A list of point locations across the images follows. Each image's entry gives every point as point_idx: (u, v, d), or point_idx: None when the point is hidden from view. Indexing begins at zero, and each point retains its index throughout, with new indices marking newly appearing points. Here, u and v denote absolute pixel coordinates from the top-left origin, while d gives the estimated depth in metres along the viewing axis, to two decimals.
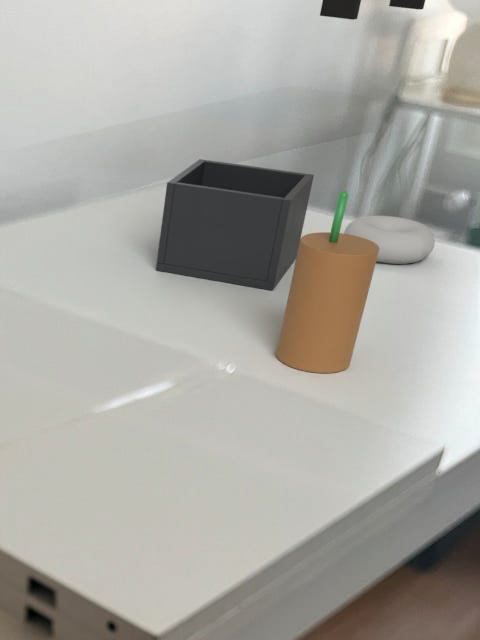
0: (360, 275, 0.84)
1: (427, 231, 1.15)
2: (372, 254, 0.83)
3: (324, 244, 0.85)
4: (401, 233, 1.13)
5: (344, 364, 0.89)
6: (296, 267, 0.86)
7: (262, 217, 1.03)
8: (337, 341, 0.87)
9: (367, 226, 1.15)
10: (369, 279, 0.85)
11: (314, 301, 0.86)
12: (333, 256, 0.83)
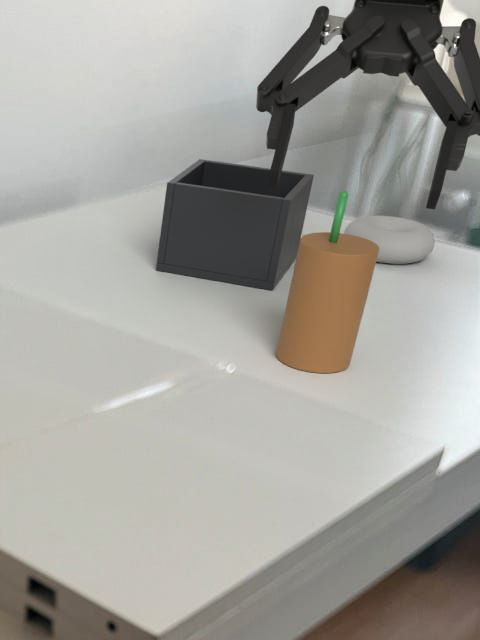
0: (360, 275, 0.84)
1: (427, 231, 1.15)
2: (372, 254, 0.83)
3: (324, 244, 0.85)
4: (401, 233, 1.13)
5: (344, 364, 0.89)
6: (296, 267, 0.86)
7: (262, 217, 1.03)
8: (337, 341, 0.87)
9: (367, 226, 1.15)
10: (369, 279, 0.85)
11: (314, 301, 0.86)
12: (333, 256, 0.83)
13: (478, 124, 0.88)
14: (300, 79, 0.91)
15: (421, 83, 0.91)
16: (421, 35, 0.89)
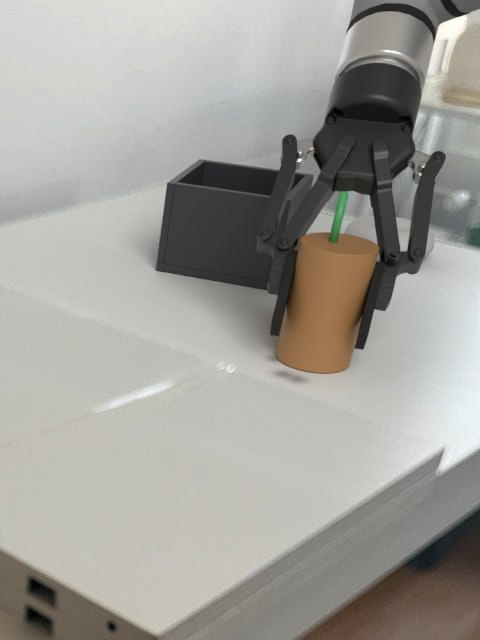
0: (360, 275, 0.84)
1: None
2: (372, 254, 0.83)
3: (324, 244, 0.85)
4: (401, 233, 1.13)
5: (344, 364, 0.89)
6: (296, 267, 0.86)
7: (262, 217, 1.03)
8: (337, 341, 0.87)
9: (367, 226, 1.15)
10: (369, 279, 0.85)
11: (314, 301, 0.86)
12: (333, 256, 0.83)
13: (406, 264, 0.85)
14: (294, 219, 0.87)
15: (374, 207, 0.88)
16: (387, 160, 0.86)
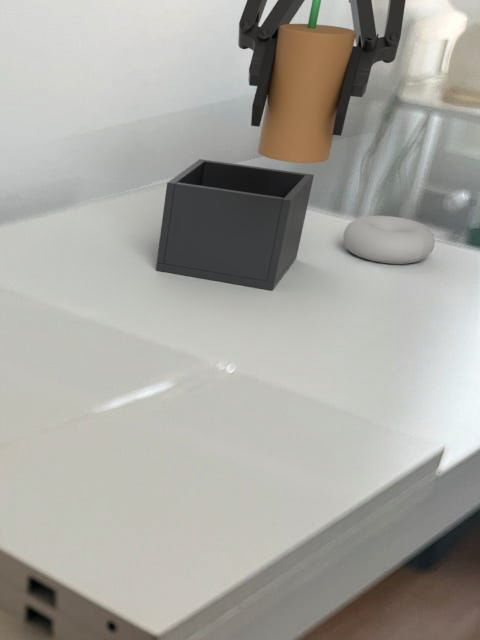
0: (337, 56, 0.87)
1: (427, 231, 1.15)
2: (348, 35, 0.86)
3: (303, 28, 0.88)
4: (401, 233, 1.13)
5: (323, 154, 0.92)
6: (276, 54, 0.89)
7: (262, 217, 1.03)
8: (316, 127, 0.90)
9: (367, 226, 1.15)
10: (346, 63, 0.88)
11: (293, 85, 0.88)
12: (311, 36, 0.86)
13: (382, 50, 0.88)
14: (274, 10, 0.90)
15: (352, 0, 0.91)
16: None
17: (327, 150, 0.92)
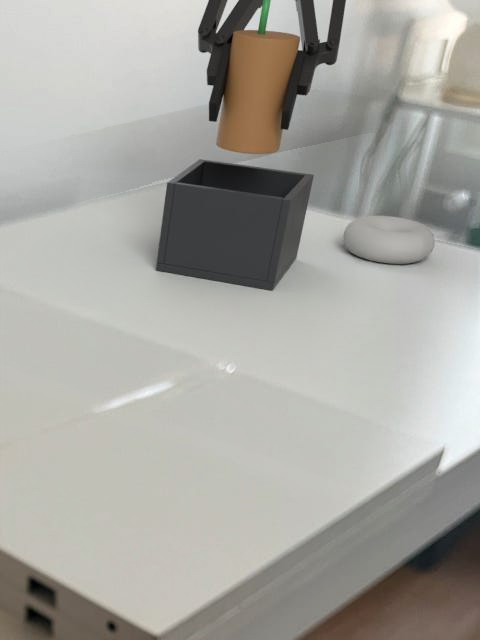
0: (283, 59, 0.98)
1: (427, 231, 1.15)
2: (292, 40, 0.98)
3: (253, 34, 0.99)
4: (401, 233, 1.13)
5: (273, 146, 1.03)
6: (230, 57, 1.00)
7: (262, 217, 1.03)
8: (266, 122, 1.01)
9: (367, 226, 1.15)
10: (292, 65, 0.99)
11: (244, 85, 1.00)
12: (259, 41, 0.97)
13: (324, 53, 1.00)
14: (229, 18, 1.02)
15: (298, 9, 1.02)
16: None
17: (277, 142, 1.03)
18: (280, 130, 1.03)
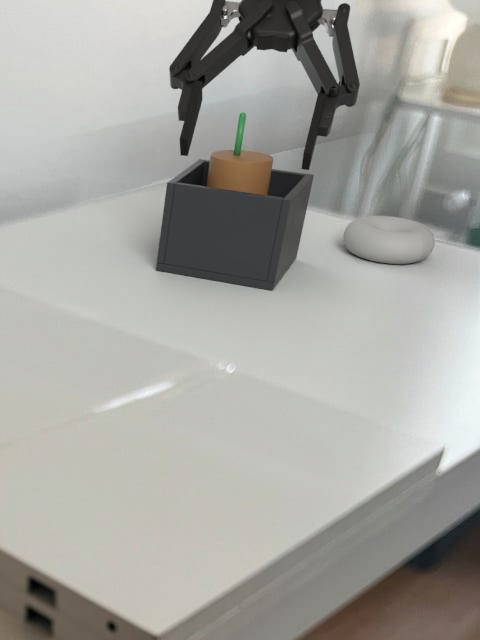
0: (257, 179, 1.05)
1: (427, 231, 1.15)
2: (265, 162, 1.04)
3: (229, 156, 1.06)
4: (401, 233, 1.13)
5: None
6: (208, 176, 1.07)
7: (262, 217, 1.03)
8: None
9: (367, 226, 1.15)
10: (266, 184, 1.06)
11: None
12: (234, 163, 1.04)
13: (344, 96, 1.02)
14: (205, 59, 1.05)
15: (302, 58, 1.04)
16: (302, 16, 1.03)
17: None
18: None
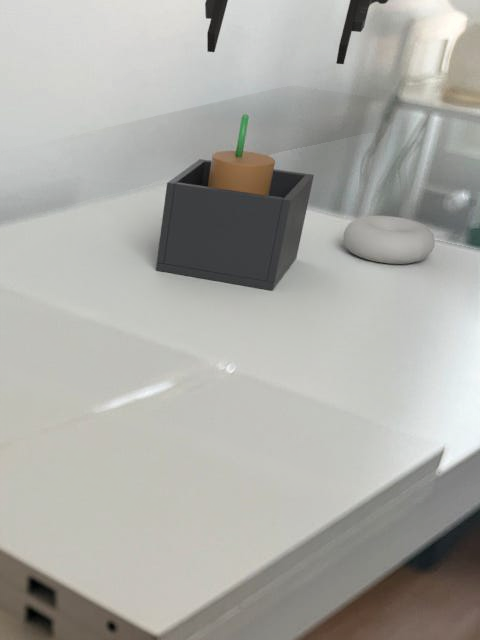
0: (259, 182, 1.05)
1: (427, 231, 1.15)
2: (267, 165, 1.04)
3: (230, 158, 1.06)
4: (401, 233, 1.13)
5: None
6: (209, 177, 1.07)
7: (262, 217, 1.03)
8: None
9: (367, 226, 1.15)
10: (267, 186, 1.06)
11: None
12: (236, 166, 1.04)
13: None
14: None
15: None
16: None
17: None
18: None
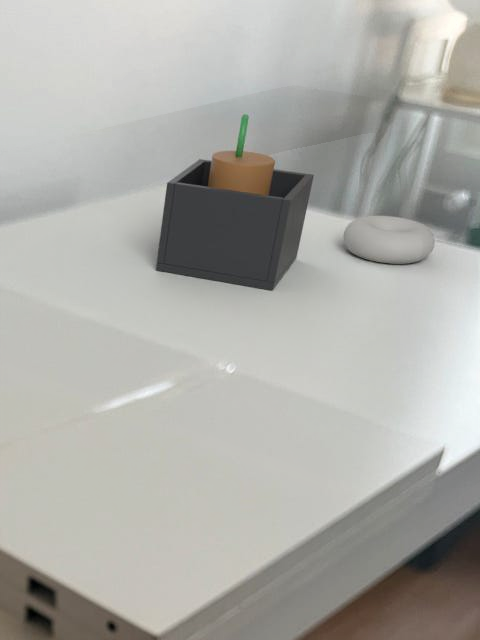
0: (259, 182, 1.05)
1: (427, 231, 1.15)
2: (267, 165, 1.04)
3: (230, 158, 1.06)
4: (401, 233, 1.13)
5: None
6: (209, 177, 1.07)
7: (262, 217, 1.03)
8: None
9: (367, 226, 1.15)
10: (267, 186, 1.06)
11: None
12: (236, 166, 1.04)
13: None
14: None
15: None
16: None
17: None
18: None
